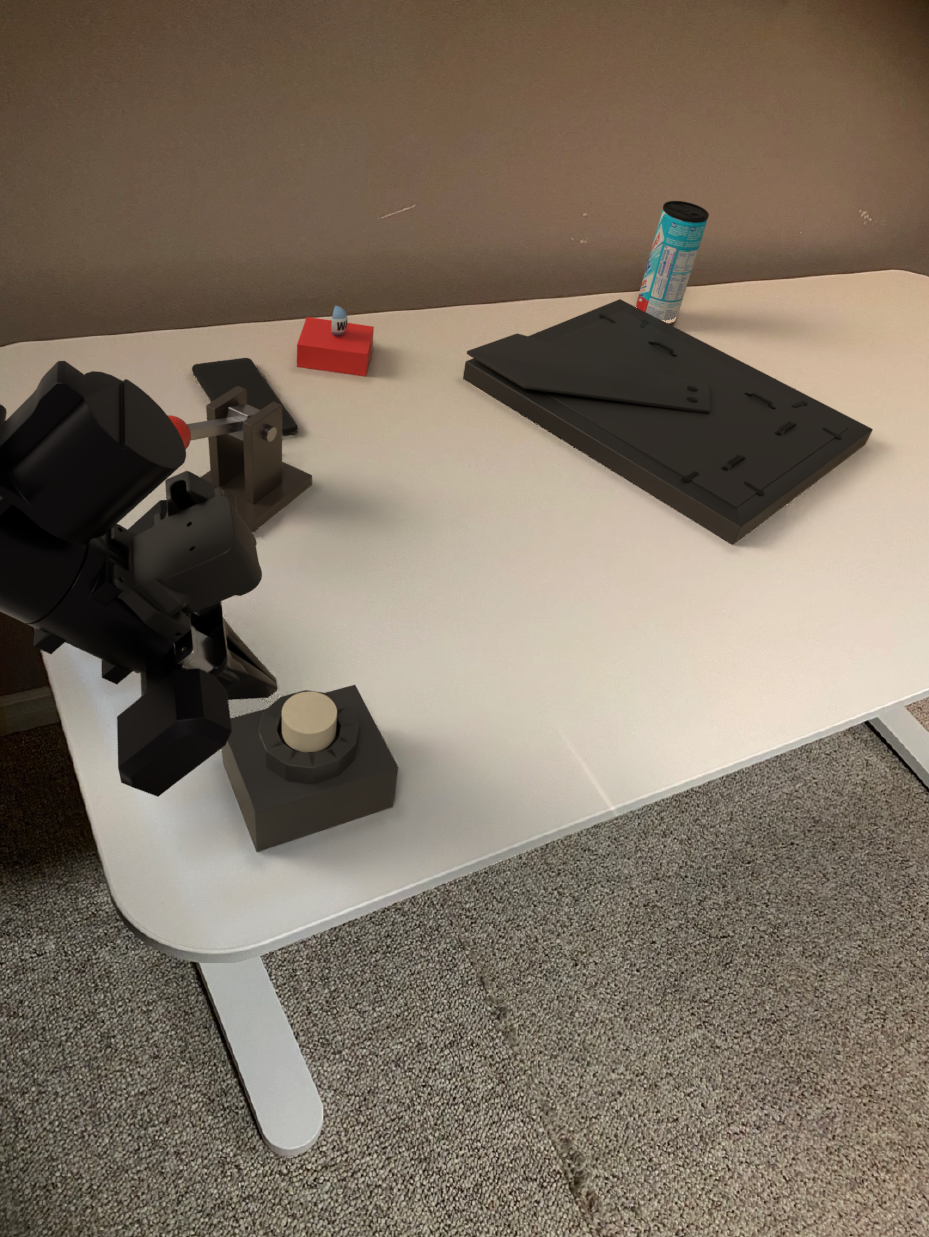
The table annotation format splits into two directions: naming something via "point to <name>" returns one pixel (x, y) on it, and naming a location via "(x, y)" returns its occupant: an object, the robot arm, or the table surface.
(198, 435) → the power switch
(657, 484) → the picture frame
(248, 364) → the smartphone
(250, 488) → the switch bracket
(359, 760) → the block
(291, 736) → the stop button
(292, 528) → the table surface
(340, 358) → the red low topped box
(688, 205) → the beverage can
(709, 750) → the table surface
